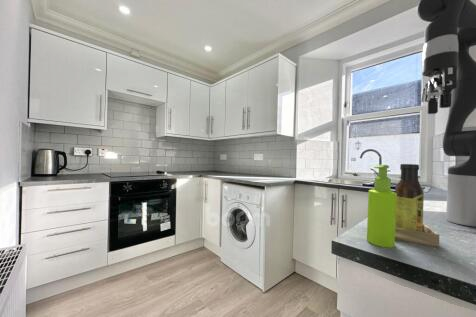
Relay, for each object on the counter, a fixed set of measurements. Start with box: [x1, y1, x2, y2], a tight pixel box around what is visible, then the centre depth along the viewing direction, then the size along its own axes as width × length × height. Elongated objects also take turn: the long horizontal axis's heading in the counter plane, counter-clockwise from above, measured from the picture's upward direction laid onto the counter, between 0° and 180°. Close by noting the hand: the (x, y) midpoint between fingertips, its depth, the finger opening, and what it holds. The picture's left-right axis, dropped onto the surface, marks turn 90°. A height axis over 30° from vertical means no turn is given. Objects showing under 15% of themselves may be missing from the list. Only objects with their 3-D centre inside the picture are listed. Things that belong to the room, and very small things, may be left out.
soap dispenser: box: [366, 164, 397, 248], centre depth 51 cm, size 6×7×20 cm
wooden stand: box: [395, 224, 440, 248], centre depth 57 cm, size 9×10×3 cm
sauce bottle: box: [394, 163, 425, 232], centre depth 57 cm, size 7×6×20 cm
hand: (438, 110), depth 60 cm, fingers open, 8 cm apart
